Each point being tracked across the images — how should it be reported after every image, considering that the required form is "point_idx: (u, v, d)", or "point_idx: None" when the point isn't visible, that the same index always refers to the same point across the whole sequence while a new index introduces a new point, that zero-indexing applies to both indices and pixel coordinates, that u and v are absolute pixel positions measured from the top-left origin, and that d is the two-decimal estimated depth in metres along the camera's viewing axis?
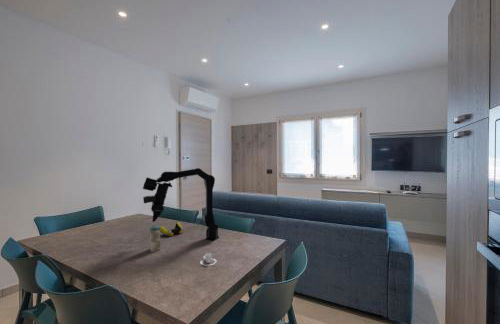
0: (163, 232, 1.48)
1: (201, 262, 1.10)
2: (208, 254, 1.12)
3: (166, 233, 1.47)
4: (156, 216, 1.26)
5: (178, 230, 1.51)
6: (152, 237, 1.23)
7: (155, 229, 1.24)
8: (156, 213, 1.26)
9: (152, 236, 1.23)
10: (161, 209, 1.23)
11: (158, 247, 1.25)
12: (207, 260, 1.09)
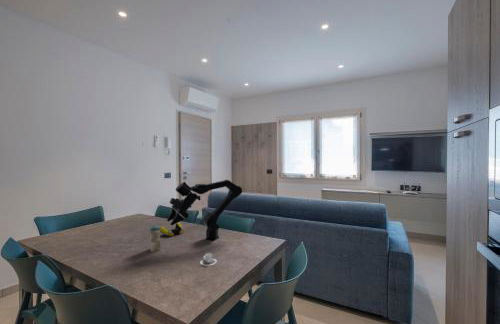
0: (163, 232, 1.47)
1: (201, 262, 1.10)
2: (208, 254, 1.12)
3: (166, 233, 1.47)
4: (176, 221, 1.26)
5: (178, 230, 1.51)
6: (152, 237, 1.23)
7: (155, 229, 1.24)
8: (178, 218, 1.27)
9: (152, 236, 1.23)
10: (186, 217, 1.25)
11: (158, 247, 1.25)
12: (207, 260, 1.09)
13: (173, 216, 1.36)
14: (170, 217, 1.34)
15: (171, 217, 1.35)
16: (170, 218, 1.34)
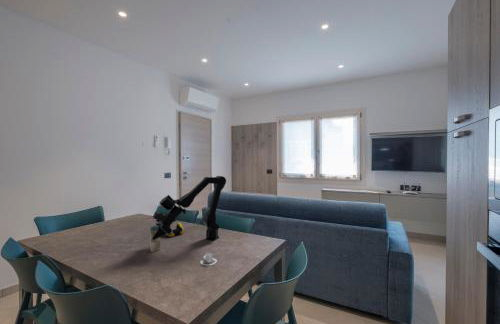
0: None
1: (201, 262, 1.10)
2: (208, 254, 1.12)
3: (167, 234, 1.46)
4: (158, 235, 1.24)
5: (179, 230, 1.50)
6: (152, 237, 1.23)
7: (155, 229, 1.24)
8: (160, 232, 1.24)
9: (152, 236, 1.23)
10: (169, 232, 1.21)
11: (158, 247, 1.25)
12: (207, 260, 1.09)
13: None
14: None
15: None
16: None
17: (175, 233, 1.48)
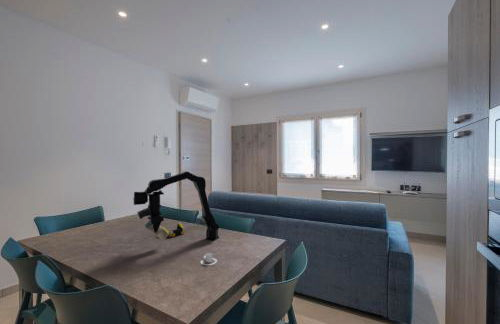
0: None
1: (201, 262, 1.10)
2: (208, 254, 1.12)
3: None
4: (157, 226, 1.23)
5: (180, 231, 1.50)
6: (153, 231, 1.24)
7: (150, 224, 1.23)
8: (156, 224, 1.23)
9: (153, 231, 1.23)
10: (161, 219, 1.19)
11: (166, 233, 1.27)
12: (207, 260, 1.09)
13: None
14: None
15: None
16: None
17: (176, 233, 1.47)
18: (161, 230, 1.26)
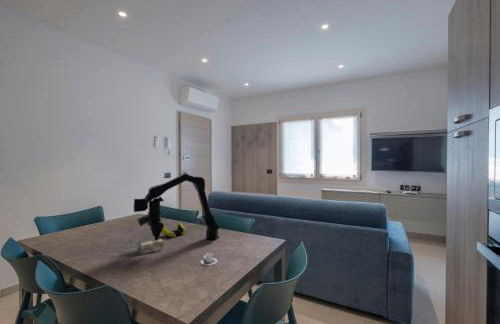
0: (165, 233, 1.45)
1: (202, 261, 1.10)
2: (209, 254, 1.12)
3: (168, 234, 1.45)
4: (158, 234, 1.21)
5: (180, 231, 1.49)
6: (148, 251, 1.22)
7: (139, 249, 1.20)
8: (157, 231, 1.21)
9: (147, 251, 1.22)
10: (161, 226, 1.19)
11: (160, 243, 1.25)
12: (208, 259, 1.10)
13: None
14: (153, 231, 1.30)
15: None
16: (154, 231, 1.30)
17: (176, 234, 1.47)
18: (153, 244, 1.24)
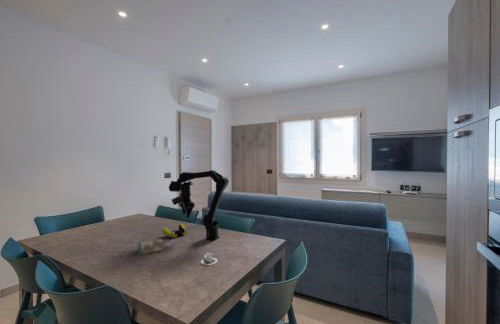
0: (166, 234, 1.45)
1: (202, 261, 1.11)
2: (209, 253, 1.12)
3: (169, 235, 1.44)
4: (189, 212, 1.42)
5: (181, 232, 1.48)
6: (148, 251, 1.22)
7: (139, 249, 1.20)
8: (188, 210, 1.42)
9: (147, 251, 1.22)
10: (193, 205, 1.40)
11: (160, 243, 1.25)
12: (208, 259, 1.10)
13: None
14: (183, 210, 1.51)
15: (184, 210, 1.51)
16: (184, 211, 1.51)
17: (177, 234, 1.46)
18: (153, 244, 1.24)
